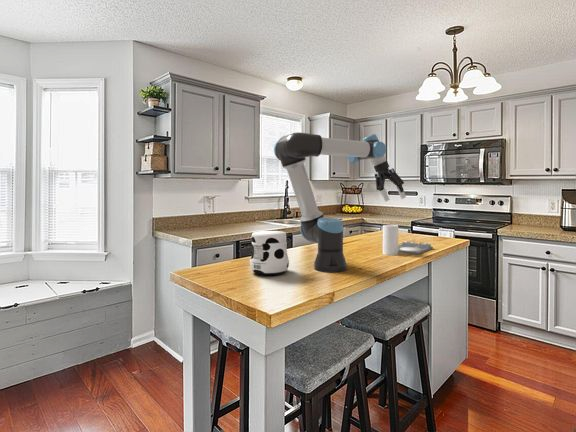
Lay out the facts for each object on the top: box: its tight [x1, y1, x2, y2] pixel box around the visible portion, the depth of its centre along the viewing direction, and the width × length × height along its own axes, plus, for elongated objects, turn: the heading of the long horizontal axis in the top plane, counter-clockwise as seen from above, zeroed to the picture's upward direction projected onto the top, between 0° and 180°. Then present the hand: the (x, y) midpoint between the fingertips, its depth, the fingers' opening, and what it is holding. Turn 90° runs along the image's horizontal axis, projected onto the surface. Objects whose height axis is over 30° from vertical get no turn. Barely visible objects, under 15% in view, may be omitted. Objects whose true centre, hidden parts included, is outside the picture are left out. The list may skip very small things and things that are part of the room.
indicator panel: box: [398, 240, 434, 256], centre depth 207 cm, size 24×18×4 cm
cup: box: [382, 224, 399, 256], centre depth 196 cm, size 8×8×16 cm
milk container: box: [249, 230, 290, 276], centre depth 157 cm, size 17×17×18 cm
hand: (395, 199), depth 188 cm, fingers open, 13 cm apart
